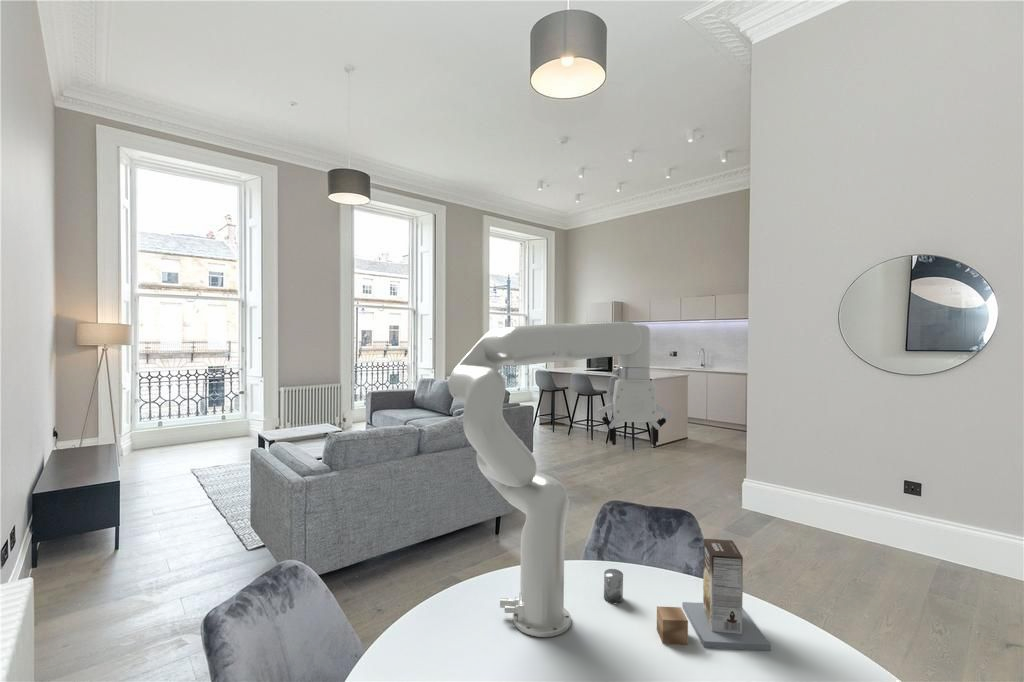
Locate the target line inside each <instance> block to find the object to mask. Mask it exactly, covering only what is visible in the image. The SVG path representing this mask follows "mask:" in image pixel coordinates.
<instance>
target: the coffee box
mask: <svg viewBox="0 0 1024 682" xmlns="http://www.w3.org/2000/svg"><path fill="white" fill-rule="evenodd" d="M702 573H703V575H702V577H703V581H702V582H703V584H702V586H703V588H702V589H703V590H702V591H703V592H702V593H703V597H702V599H703V601H702V603H703V608H704V611H705V614H706V617H707V620H708V623H709V625H710V628H711V631H713V632H722V633H732V634H742V608H743V589H744V588H743V587H744V586H743V585H744V580H743V579H744V575H743V573H744V557H743V555H742V554H741V552H740V550H739V549H738V547H737V545H736V544H735V541H734V540H731V539H718V538H717V539H716V538H715V539H714V538H713V539H712V538H703V572H702Z"/></svg>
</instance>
